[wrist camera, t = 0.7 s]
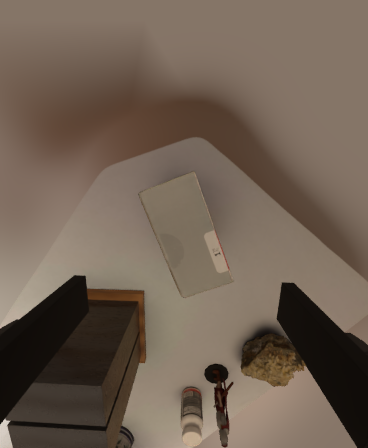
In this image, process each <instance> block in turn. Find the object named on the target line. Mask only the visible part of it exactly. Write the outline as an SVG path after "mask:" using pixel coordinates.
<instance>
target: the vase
mask: <svg viewBox="0 0 368 448" xmlns="http://www.w3.org/2000/svg"><path fill="white" fill-rule="evenodd" d="M133 442H134V438H133V435H132V434H131V432H130V431H129V430H128V429H126V428H125V427H123V426H121V428H120V432H119V435H118V439H117V442H116V446H115V448H131V446H132V444H133Z"/></svg>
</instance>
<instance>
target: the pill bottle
mask: <svg viewBox="0 0 368 448" xmlns="http://www.w3.org/2000/svg"><path fill="white" fill-rule="evenodd" d="M202 427H203V416H202V397H201V393H200V391H199V390H198V389H196V388H192V387H190V388H187V389H185V390H184V391H183V393H182V402H181V428H182V430H183V432H182V440H183V442H184V443H185V444H186V445H189V446H196V445H198V444H200V443H201V440H202V433H201V429H202Z"/></svg>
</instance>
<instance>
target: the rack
mask: <svg viewBox="0 0 368 448" xmlns="http://www.w3.org/2000/svg"><path fill="white" fill-rule="evenodd" d="M87 295H88V305H89V312H88V314H87V315H86V316H85V317H84V319H83V320H82V321H81V322H80V324H79V325H78V326H77V328H76V329H75V330H74V331H73V333H72V334H71V335H70V336H69V338H68V339H67V340H66V342H65V343H64V344H63V345H62V347H61V348H60V349H59V350H58V352H57V353H56V354H55V356H54V357H53V358H52V359H51V361H50V362H49V363H48V364H47V366H46V367H45V368H44V370H43V371H42V372H41V373H40V375H39V376H38V377H37V378H36V380H35V381H34V382H33V384H32V385H31V386H30V387H29V389H28V390H27V391H26V392H25V394H24V395H23V396H22V398H21V399H20V400H19V401H18V403H17V404H16V405H15V406H14V408H13V409H12V410H11V412H10V413H9V414H8V415H7V417H6V420H8V421H10V422H9V424H8V425H7V426H8V430H9V434H10V438H11V441H12V445H13V448H115V446H116V442H117V439H118V435H119V432H120V428H121V425H122V421H123V418H124V414H125V411H126V407H127V404H128V400H129V397H130V393H131V390H132V386H133V383H134V379H135V376H136V373H137V369H138V366H139V363H145V361H146V340H145V311H144V291H132V290H105V289H87Z"/></svg>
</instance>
